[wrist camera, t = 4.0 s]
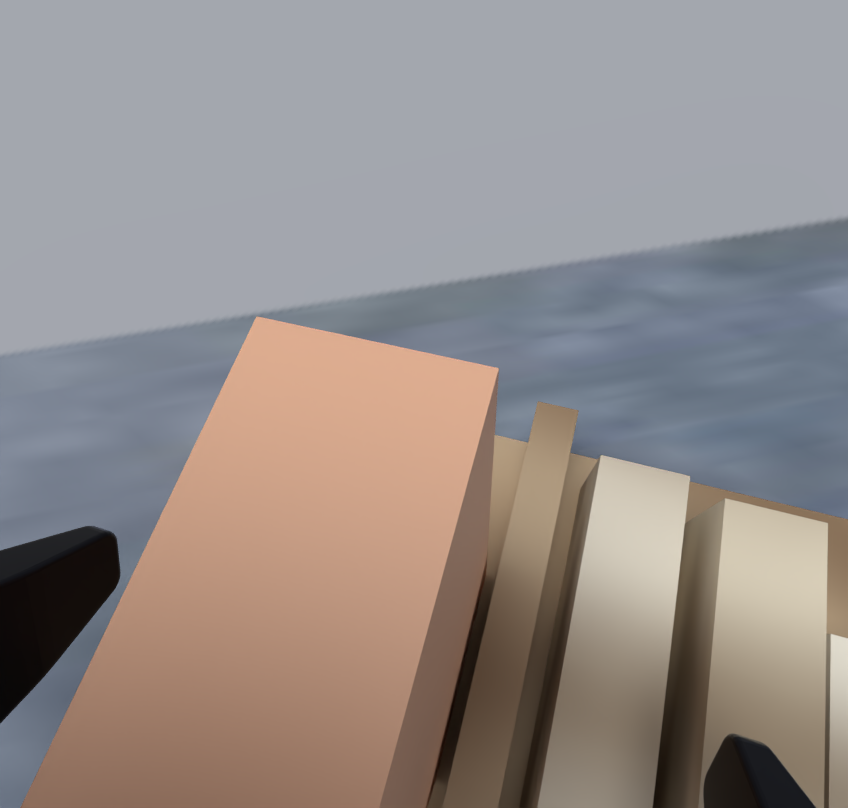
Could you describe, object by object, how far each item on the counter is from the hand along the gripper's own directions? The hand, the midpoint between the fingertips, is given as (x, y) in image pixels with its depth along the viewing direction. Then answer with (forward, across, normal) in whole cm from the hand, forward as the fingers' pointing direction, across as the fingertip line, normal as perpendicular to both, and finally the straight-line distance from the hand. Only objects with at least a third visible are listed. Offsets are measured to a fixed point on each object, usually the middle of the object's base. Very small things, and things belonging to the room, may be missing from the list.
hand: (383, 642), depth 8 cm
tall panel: (+5, 0, +5) cm, 7 cm away
